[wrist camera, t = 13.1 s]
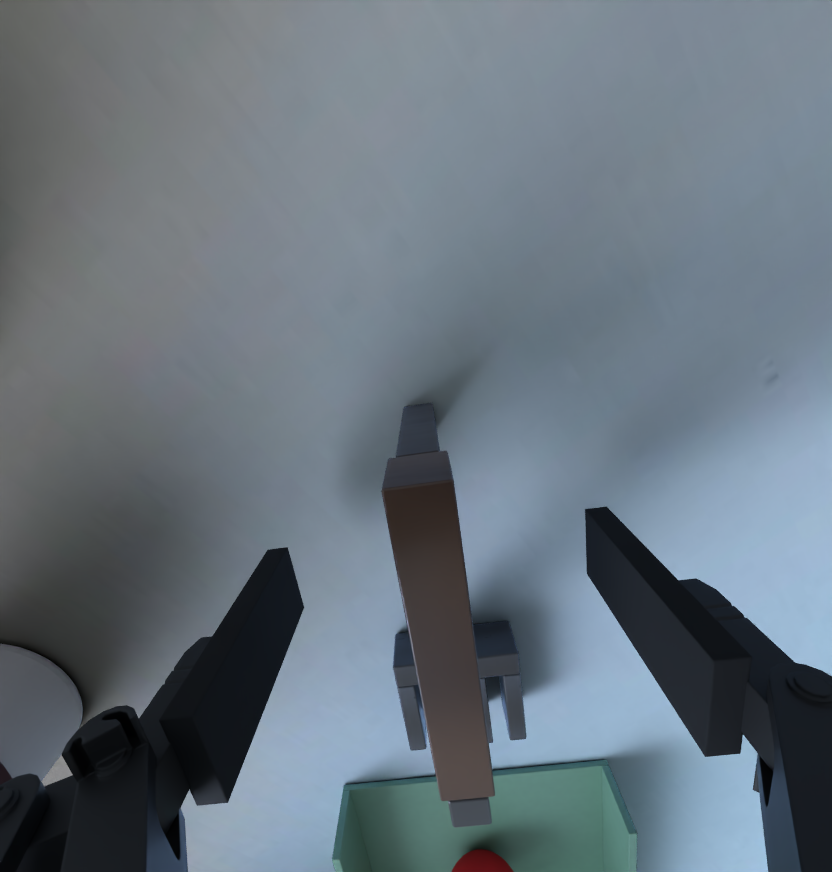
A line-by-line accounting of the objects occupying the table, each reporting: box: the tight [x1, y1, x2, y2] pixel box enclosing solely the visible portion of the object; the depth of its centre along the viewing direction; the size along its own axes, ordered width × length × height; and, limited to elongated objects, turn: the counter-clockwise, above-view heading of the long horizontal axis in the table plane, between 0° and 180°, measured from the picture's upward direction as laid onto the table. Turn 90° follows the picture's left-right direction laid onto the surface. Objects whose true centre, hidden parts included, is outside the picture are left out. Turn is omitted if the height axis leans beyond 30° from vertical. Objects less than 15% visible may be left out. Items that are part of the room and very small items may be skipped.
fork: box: [381, 403, 526, 828], centre depth 15 cm, size 16×6×8 cm, turn 9°
